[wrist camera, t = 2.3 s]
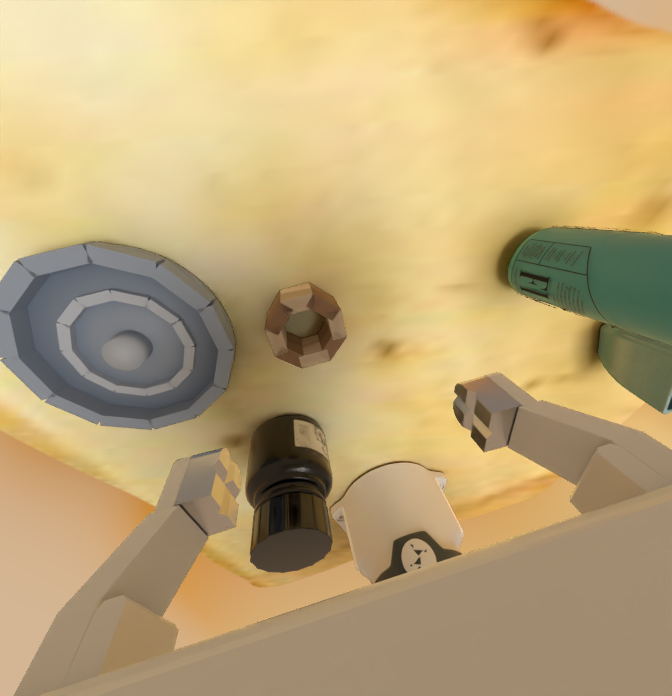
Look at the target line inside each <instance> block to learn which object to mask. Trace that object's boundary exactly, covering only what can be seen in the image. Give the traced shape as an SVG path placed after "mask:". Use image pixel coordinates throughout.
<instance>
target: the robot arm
mask: <svg viewBox="0 0 672 696" xmlns="http://www.w3.org/2000/svg"><path fill="white" fill-rule="evenodd" d="M454 392H455V393H456V395H457V398H456V399H455V400H454V402H453V409H454V413H455V416H456V418H457V420H458V421H459V423H460V424H461V425H462V426H463V427H464V428H467V429H469V430H471V437H472V439H473V440H474V441H475V442H476V443H477V445H478V446H479V447H480V448H481V449H482V451H483V452H487V451H491V450H494V449H498V448H502V447H505V446H508V448H510V449H512V450H514V451H515V452H517V453H519V454H521V455H523V456H524V457H526V458H528V459H530V460H532V461H533V462H535V463H537V464H539V465H541V466H542V467H544V468H546V469H548V470H550V471H551V472H553V473H555V474H557V475H559V476H560V477H562V478H564V479H566V480H568V481H570V482H571V483H573V484H575V485H576V486H575V488H574V490H573V492H572V494H571V495H570V502H571V503H572V504H573V505H574V506H575V507H576V508H577V509H578V510H579V512H580V513H582V514H581V515H578V516H575V517H573V518H569V519H567V520H563V521H561V522H557V523H555V524H552V525H549V526H545V527H543V528H539V529H536V530H533V531H530V532H528V533H525V534H521V535H519V536H515V537H513V538H509V539H506V540H504V541H501V542H497V543H494V544H491V545H489V546H485V547H483V548H479V549H477V550H474V551H471V552H467V553H464V554H462V553H460V546H461V542H462V536H463V530H462V528H461V526H460V524H459V522H458V520H457V518H456V516H455V514H454V512H453V510H452V508H451V506H450V504H449V502H448V500H447V498H446V496H445V494H444V490H445V487H446V483H447V479H446V477H445V475H444V473H441V472H435V471H429V470H427V469H426V468H424V467H422V466H420V465H418V464H414V463H394V464H389V465H385V466H382V467H379V468H377V469H374V470H372V471H370V472H368V473H366V474H365V475H363V476H362V477H360V478H359V479H358V480H357V481H355V482H354V483H353V484H352V485H351V487H350V488H349V489H348V491H347V492H346V494H345V496H344V497H343V498H342V499H341V500H340V501H339V502H337V503H336V504H335V505H334V506H333V507H332V508H331V510H330V511H331V515H332V518H333V519H334V520H335V521H336V522H337V523H338V524H339V526H340V527H341V528H342V529H343V530H344V531H345V532H346V534H347V535H348V538H349V542H350V547H351V551H352V555H353V560H354V564H355V567H356V569H357V570H359V571H360V573H361V574H362V575H363V576H365V577H367V578H368V579H369V580H370V582H371V583H372V584H371V585H368V586H365V587H362V588H359V589H356V590H354V591H350V592H347V593H344V594H341V595H338V596H335V597H332V598H329V599H326V600H323V601H320V602H317V603H314V604H311V605H308V606H305V607H302V608H299V609H296V610H293V611H291V612H287V613H284V614H281V615H278V616H275V617H272V618H269V619H267V620H263V621H260V622H257V623H255V624H251V625H248V626H246V627H242V628H239V629H236V630H233V631H230V632H227V633H225V634H221V635H219V636H215V637H212V638H209V639H206V640H204V641H200V642H197V643H195V644H191V645H188V646H185V647H182V648H179V649H176V650H174V647H175V643H176V638H177V634H178V629H177V627H176V625H175V624H173V623H171V622H170V621H168V620H166V619H164V618H163V617H162V616H163V615H164V613H165V611H166V609H167V608H168V606H169V604H170V603H171V601H172V599H173V597H174V596H175V594H176V592H177V591H178V589H179V587H180V585H181V584H182V582H183V580H184V578H185V577H186V575H187V573H188V572H189V570H190V568H191V566H192V565H193V563H194V561H195V560H196V558H197V556H198V555H199V553H200V551H201V549H202V548H203V546H204V544H205V543H206V541H207V539H208V536H210V535H213V534H216V533H219V532H222V531H225V530H228V529H231V528H234V527H236V520H237V513H238V503H237V502H236V500H235V498H236V497H237V495H238V494H239V492H240V489H241V475H240V471H239V467H238V466H237V464H236V462H233V461H231V460H230V455H231V454H230V452H229V451H228V450H227V448H221V449H217V450H213V451H209V452H205V453H201V454H197V455H193V456H190V457H186V458H182V459H178V460H177V461H176V462H175V463H174V464H173V466H172V468H171V471H170V473H169V476H168V479H167V481H166V484H165V486H164V489H163V491H162V494H161V496H160V499H159V501H158V504H157V506H156V509H155V511H154V512H153V513H150V514H148V515H147V516H146V517H145V519H144V520H143V521H142V522H141V523H140V524H139V525H138V526H137V527H136V529H134V530H133V532H132V533H131V534H130V535H129V536H128V537H127V538H126V539H125V540H124V541H123V542H122V544H121V545H120V546H119V547H118V548H117V549H116V550H115V551H114V552H113V553H112V554H111V556H110V557H109V558H108V559H107V560H106V561H105V562H104V563H103V564H102V565H101V567H100V568H99V569H98V570H97V571H96V572H95V573H94V574H93V575H92V576H91V577H90V578H89V580H88V581H87V582H86V583H85V584H84V585H83V586H82V587H81V589H80V590H78V592H77V593H76V594H75V595H74V596H73V597H72V598H71V599H70V600H69V601H68V602H67V604H66V605H65V606H64V607H63V608H62V609H61V610H60V611H59V612H58V614H57V615H56V617H55V619H54V621H53V623H52V625H51V627H50V628H49V630H48V632H47V634H46V636H45V638H44V640H43V642H42V644H41V645H40V647H39V649H38V651H37V653H36V655H35V657H34V659H33V660H32V662H31V664H30V666H29V668H28V670H27V672H26V674H25V675H24V677H23V679H22V681H21V683H20V685H19V687H18V688H17V690H16V692H15V694H14V696H672V450H671V449H669V448H667V447H666V446H664V445H663V444H661V443H660V442H658V441H657V440H655V439H653V438H652V437H650V436H649V435H647V434H645V433H644V432H641V431H638V430H635V429H632V428H628V427H626V426H622V425H619V424H616V423H613V422H610V421H607V420H603V419H600V418H597V417H594V416H591V415H587V414H584V413H581V412H578V411H575V410H572V409H568V408H565V407H562V406H559V405H556V404H553V403H549V402H546V401H543V400H541V401H537V400H535V399H534V398H533V397H532V396H530V395H529V394H528V393H526V392H525V391H524V390H522V389H521V388H520V387H518V386H517V385H516V384H515V383H513V382H512V381H511V380H509V379H508V378H507V377H505V376H504V375H503V374H501V373H498V372H496V373H492V374H489V375H485V376H483V377H478V378H475V379H471V380H468V381H464V382H461V383H457V384H456V386H455V391H454Z"/></svg>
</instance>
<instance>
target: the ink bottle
mask: <svg viewBox="0 0 672 696" xmlns="http://www.w3.org/2000/svg"><path fill="white" fill-rule="evenodd" d="M331 488H332V472H331V466H330V461H329V456H328V451H327V445H326V440H325V435H324V432H323V430H322V429H321V427H320V426H319V425H318V424H317V423H316V422H315V421H314V420H312V419H310V418H308V417H305V416H299V415H288V416H282V417H278V418H275V419H272V420H270V421H268V422H266V423H264V424H263V425H261V426H260V427H259V428H258V429H257V430H256V432H255V433H254V435H253V437H252V441H251V447H250V454H249V462H248V469H247V477H246V485H245V492H246V497H247V500H248V502H249V503H250V505H251V506H252V507H253V508H254V509H255V510H254V516H253V527H252V537H251V548H250V555H251V558H250V562H251V563H253V564H254V565H255V566H256V568H258V569H261V570H264V571H267V572H281V573H284V572H289V571H297V570H300V569H302V568H305V567H308V566H312V565H313V564H315V563H316V562H318V561H319V560H321V559H323V558H324V557H325V556H326V554H327V553H328V552H329V551H330V550H331V545H332V535H331V529H330V522H329V515H328V509H327V507H326V501H325V499H326V498H327V497H328V495H329V493H330V491H331Z"/></svg>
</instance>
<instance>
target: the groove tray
mask: <svg viewBox="0 0 672 696" xmlns="http://www.w3.org/2000/svg"><path fill="white" fill-rule="evenodd" d="M235 346H236V343H235V337H234V332H233V327H232V325H231V322H230V319H229V317H228V315H227V313H226V311H225V309H224V307H223V306H222V304H221V303H220V301H219V300H218V299H217V297H216V296H215V295H214V294H213V293H212V291H211V290H210V289H209V288H208V287H207V286H206V285H205V284H204V283H203V282H202V281H200V280H199V279H198V278H197V277H196V276H195V275H193V274H192V273H190V272H189V271H188V270H186V269H185V268H183V267H182V266H180V265H178V264H176V263H175V262H173V261H171V260H169V259H167V258H165V257H162V256H160V255H158V254H156V253H153V252H149V251H146V250H143V249H140V248H136V247H131V246H126V245H118V244H108V243H104V242H96V241H95V242H89V243H84V244H79V245H74V246H70V247H66V248H62V249H58V250H53V251H49V252H45V253H41V254H36V255H32V256H28V257H24V258H20V259H18V260H17V261H14V263H13V264H12V265H11V267H10V268H9V270H8V271H7V273H6V274H5V276H4V277H3V279H2V280H1V282H0V357H2V358H3V359H1V360H0V361H2V362H3V363H4V364H5V365H6V366H7V367H8V368H9V369H10V370H11V371H12V372H13V373H14V374H15V375H16V376H17V377H18V378H19V379H20V380H21V381H22V382H23V383H24V384H25V385H26V386H27V387H28V388H29V389H30V390H31V391H33V392H34V393H35V394H36V395H37V396H38V397H39V398H40V399H41V400H43V399H47V398H48V399H47V400H46V401H45V403H48V404H50V405H52V406H55V407H57V408H59V409H62V410H64V411H66V412H69V413H71V414H74V415H76V416H78V417H81V418H83V419H85V420H88V421H90V422H92V423H95V424H98V423H99V422H100V425H102V426H113V427H125V428H137V429H149V430H152V428H154V429H158V428H161V427H165V426H169V425H172V424H176V423H179V422H183V421H186V420H190V419H193V418H196V417H197V416H200V415H201V414H202V413H203V412H204V411H205V410H206V409H207V408H208V407H209V406H210V405H211V404H212V403H213V402H214V401H215V400H216V399H217V398H219V397H220V396H221V395H222V394H223V393H224V392H225V391H226V388H227V387H228V383H229V380H230V375H231V369H232V364H233V360H234V356H235Z"/></svg>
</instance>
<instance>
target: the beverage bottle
mask: <svg viewBox="0 0 672 696" xmlns="http://www.w3.org/2000/svg"><path fill="white" fill-rule="evenodd" d="M568 227H570V226H568ZM568 227H566V226H564V227H563V228H558V227H553V226H552V228H547V229H543V230H540V231H537V232H535V233H534V234H532V235H530V236H529V237H528V238H526V239H525V240H524V241H523V242H522V243H521V244H520V246H519V247H518V248H517V250H516V251H515V253H514V255H513V257H512V259H511V261H510V264H509V268H508V280H509V283H510V285H511V286H512V287H513V289H514V290H516V291H517V292H519V293H520V294H521V295H522V294H523V295H526V297H527V296H528V297H527V298H529V297H530V298H531V300H532V298H534V299H537V300H534V299H533V300H534V301H537V302H538V301H542V302H546V303H549V304H551V305H554V306H557V307H560V308H562V309H563V310H564V311H565V310H567V311H568V310H569V311H570V312H571V311H572V312H573V313H577V314H580V315H582V316H583V317H584V316H586V317H589V318H592V319H595V320H597V321H600V322H603V323H606V324H609V325H612V326H611V328H614V327H616V328H619V329H620V330H621V329H622V331H623V330H625V331H628V332H631V333H635V334H637V335H640V336H643V337H646V338H647V337H648V339H650V338H651V339H654V340H657V341H658V342H663V343H666V344H669V345H672V235H663V234H662V235H657V234H650V233H648V232H642V233H638V232H630V231H624V230H622V231H613V230H598V229H595V228H594V229H591V228H590V229H583V227H582V228H578V227H577V226H575V227H576V228H578V229H576V228H568ZM572 227H573V226H572ZM587 228H588V227H587ZM606 229H607V228H606ZM608 229H609V228H608ZM613 229H614V228H613ZM616 230H618V229H616ZM626 230H627V229H626ZM651 232H652V231H651ZM655 233H657V232H655ZM658 234H660V233H658ZM523 295H522V296H523ZM542 302H540V303H542ZM546 305H547V304H546ZM548 306H550V305H548ZM551 307H552V306H551ZM554 308H555V307H554ZM577 314H576V315H577ZM580 315H579V316H580ZM613 326H614V327H613ZM625 331H624V332H625ZM626 333H627V332H626ZM630 335H631V334H630ZM642 339H643V338H642ZM651 341H653V340H651Z"/></svg>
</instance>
